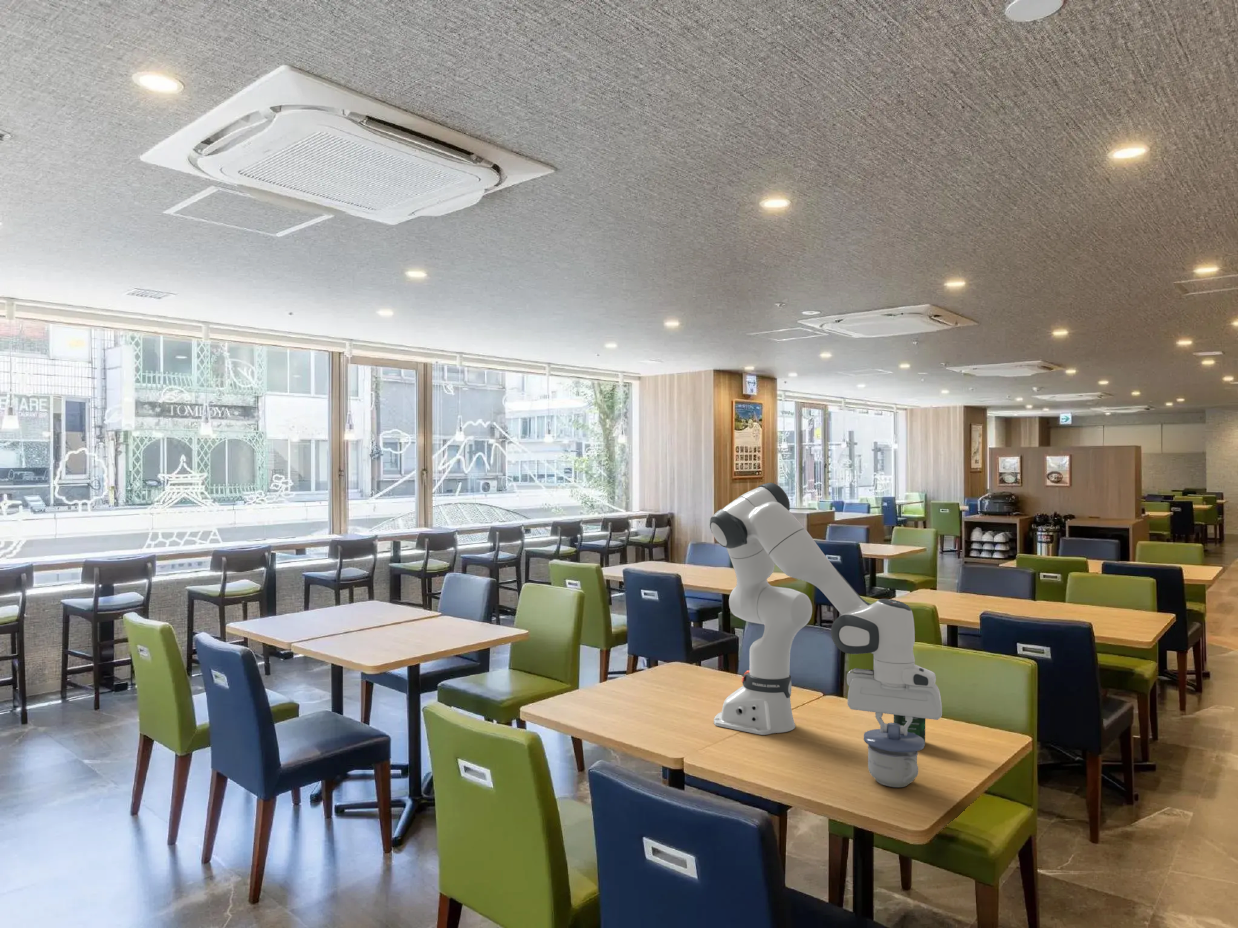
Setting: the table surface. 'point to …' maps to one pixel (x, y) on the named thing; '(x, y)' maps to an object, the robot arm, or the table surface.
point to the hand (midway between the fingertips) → (893, 733)
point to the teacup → (892, 766)
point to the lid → (894, 739)
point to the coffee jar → (912, 725)
